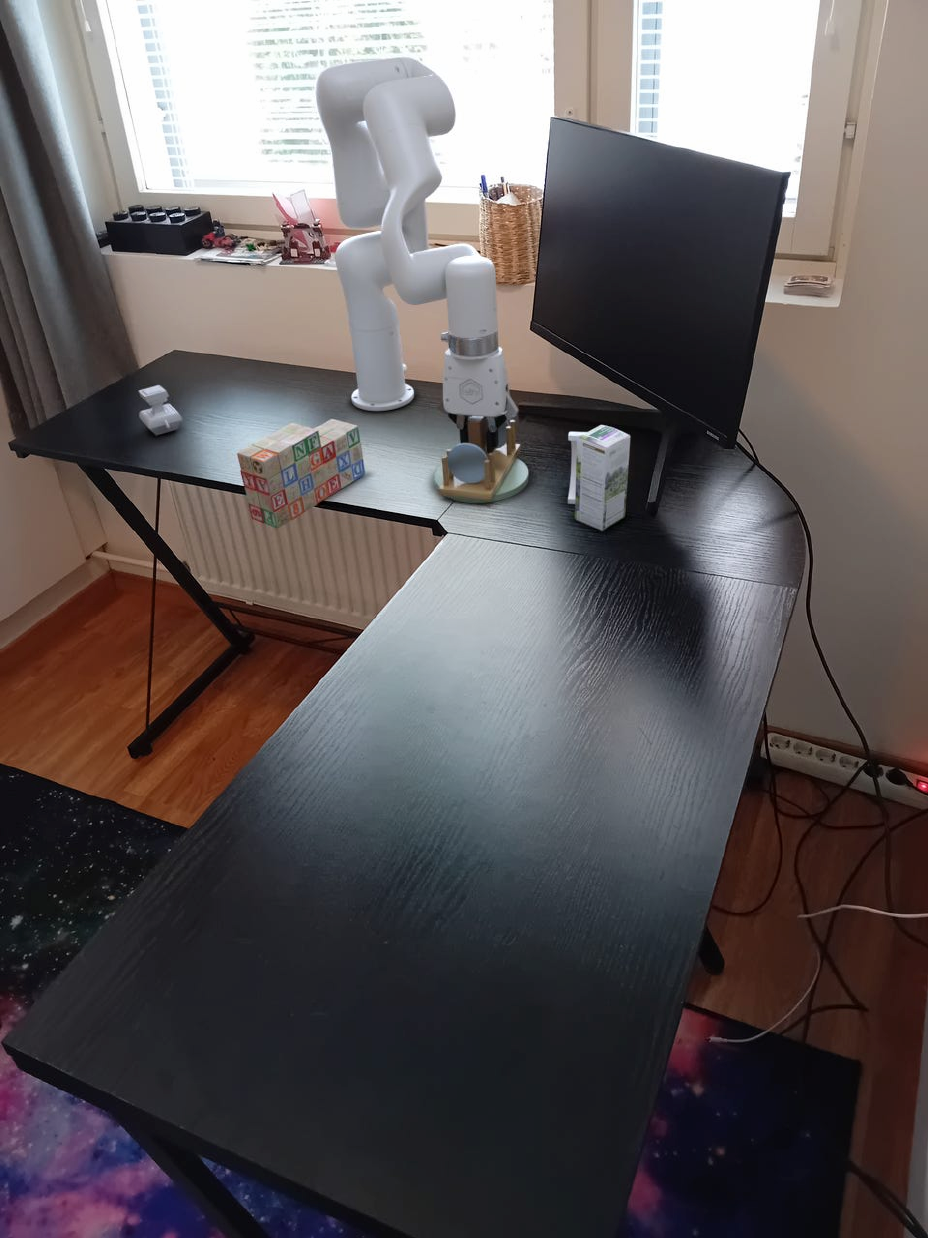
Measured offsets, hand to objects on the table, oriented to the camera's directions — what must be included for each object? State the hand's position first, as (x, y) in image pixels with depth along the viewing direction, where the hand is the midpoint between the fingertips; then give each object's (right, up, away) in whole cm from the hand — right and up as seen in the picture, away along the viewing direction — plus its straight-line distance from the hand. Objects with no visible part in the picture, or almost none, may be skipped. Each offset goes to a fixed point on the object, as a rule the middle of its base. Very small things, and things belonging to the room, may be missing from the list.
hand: (479, 448), depth 157 cm
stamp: (-61, +8, +28) cm, 68 cm away
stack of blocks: (-29, -8, +3) cm, 30 cm away
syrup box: (+19, -13, -9) cm, 25 cm away
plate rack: (0, -3, +3) cm, 4 cm away
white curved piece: (+17, -8, -3) cm, 19 cm away
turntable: (0, -5, +4) cm, 6 cm away
